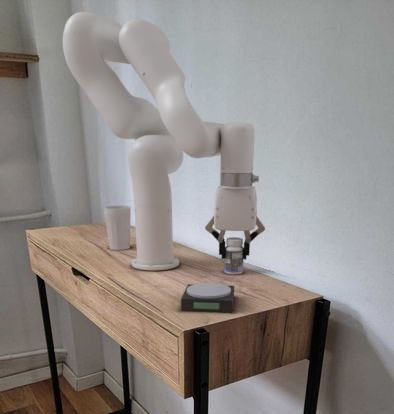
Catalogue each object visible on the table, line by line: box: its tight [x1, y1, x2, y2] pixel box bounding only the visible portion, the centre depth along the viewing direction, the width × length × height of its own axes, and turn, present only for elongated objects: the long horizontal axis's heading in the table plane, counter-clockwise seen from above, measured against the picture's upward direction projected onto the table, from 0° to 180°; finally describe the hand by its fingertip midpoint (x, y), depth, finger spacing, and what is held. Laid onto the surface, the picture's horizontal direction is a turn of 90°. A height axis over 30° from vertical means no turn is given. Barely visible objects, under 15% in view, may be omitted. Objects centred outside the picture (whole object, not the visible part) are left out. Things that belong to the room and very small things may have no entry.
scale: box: [180, 282, 235, 313], centre depth 99 cm, size 10×10×3 cm
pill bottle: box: [223, 236, 244, 275], centre depth 120 cm, size 5×5×8 cm
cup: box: [103, 204, 132, 251], centre depth 146 cm, size 8×8×12 cm
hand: (234, 257), depth 120 cm, fingers closed on pill bottle, 4 cm apart
